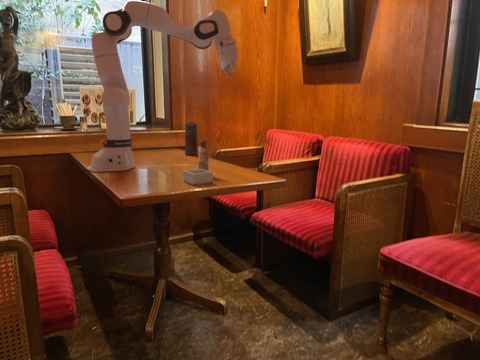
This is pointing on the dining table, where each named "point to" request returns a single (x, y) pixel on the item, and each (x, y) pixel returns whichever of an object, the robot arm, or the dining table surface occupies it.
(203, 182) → the box
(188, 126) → the candle
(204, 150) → the pepper mill
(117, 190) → the dining table surface
